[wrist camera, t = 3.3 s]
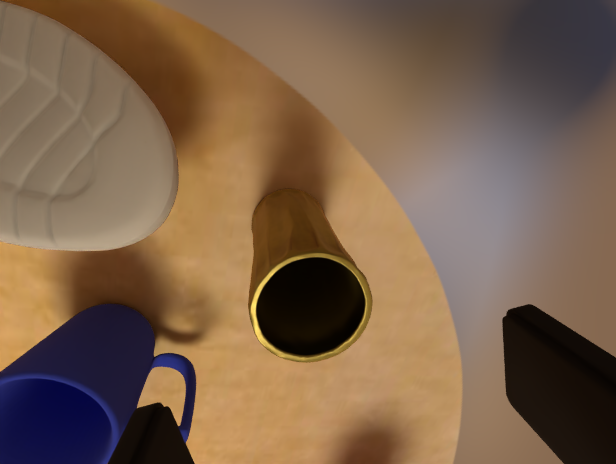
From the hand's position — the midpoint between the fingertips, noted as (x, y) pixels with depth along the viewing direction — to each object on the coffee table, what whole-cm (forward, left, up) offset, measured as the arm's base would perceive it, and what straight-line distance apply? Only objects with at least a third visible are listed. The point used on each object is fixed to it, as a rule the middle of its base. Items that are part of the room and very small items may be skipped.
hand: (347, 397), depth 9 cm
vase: (0, 0, -19) cm, 19 cm away
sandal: (-22, -3, -12) cm, 26 cm away
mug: (-6, -16, -19) cm, 26 cm away
